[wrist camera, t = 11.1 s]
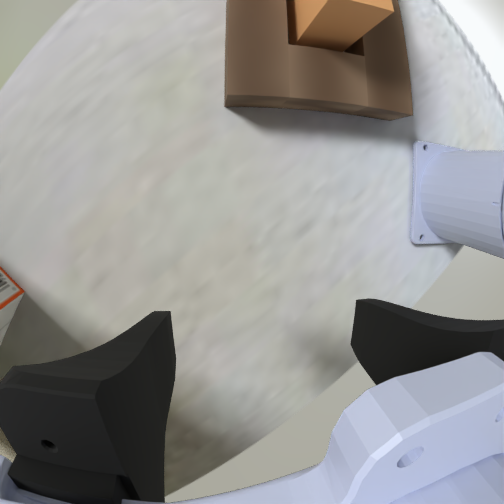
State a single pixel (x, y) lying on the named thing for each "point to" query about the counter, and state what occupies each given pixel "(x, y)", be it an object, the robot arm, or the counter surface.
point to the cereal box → (8, 301)
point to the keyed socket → (314, 66)
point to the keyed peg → (333, 21)
